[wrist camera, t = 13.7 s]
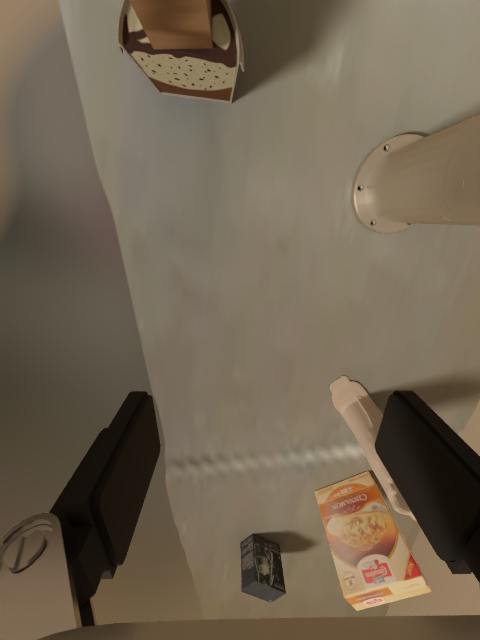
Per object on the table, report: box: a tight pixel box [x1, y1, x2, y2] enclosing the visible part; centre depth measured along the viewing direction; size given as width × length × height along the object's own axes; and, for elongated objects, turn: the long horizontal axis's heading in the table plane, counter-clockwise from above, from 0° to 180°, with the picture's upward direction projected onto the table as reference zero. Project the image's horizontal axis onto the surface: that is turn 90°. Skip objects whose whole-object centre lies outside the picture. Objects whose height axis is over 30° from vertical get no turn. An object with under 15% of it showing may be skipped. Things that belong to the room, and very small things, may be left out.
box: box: [240, 534, 286, 602], centre depth 68 cm, size 11×7×10 cm, turn 52°
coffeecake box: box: [315, 471, 431, 611], centre depth 54 cm, size 15×7×20 cm, turn 122°
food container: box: [117, 0, 245, 104], centre depth 26 cm, size 12×6×10 cm, turn 84°
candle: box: [330, 376, 417, 521], centre depth 42 cm, size 7×14×20 cm, turn 38°
